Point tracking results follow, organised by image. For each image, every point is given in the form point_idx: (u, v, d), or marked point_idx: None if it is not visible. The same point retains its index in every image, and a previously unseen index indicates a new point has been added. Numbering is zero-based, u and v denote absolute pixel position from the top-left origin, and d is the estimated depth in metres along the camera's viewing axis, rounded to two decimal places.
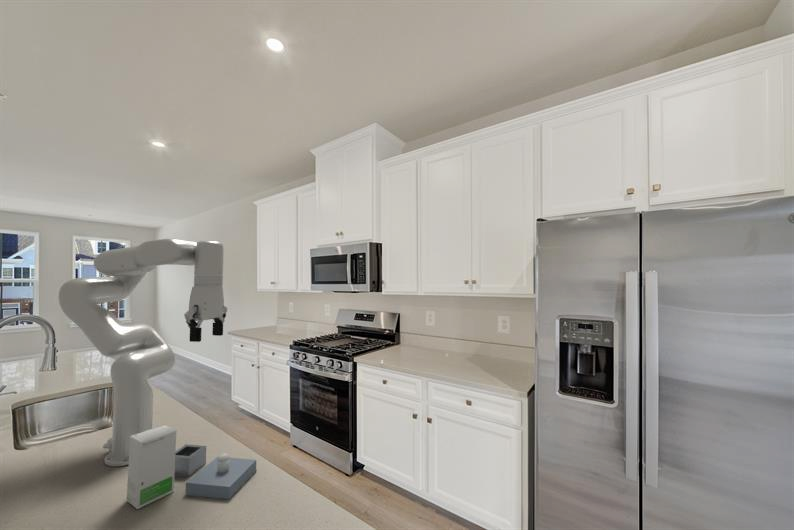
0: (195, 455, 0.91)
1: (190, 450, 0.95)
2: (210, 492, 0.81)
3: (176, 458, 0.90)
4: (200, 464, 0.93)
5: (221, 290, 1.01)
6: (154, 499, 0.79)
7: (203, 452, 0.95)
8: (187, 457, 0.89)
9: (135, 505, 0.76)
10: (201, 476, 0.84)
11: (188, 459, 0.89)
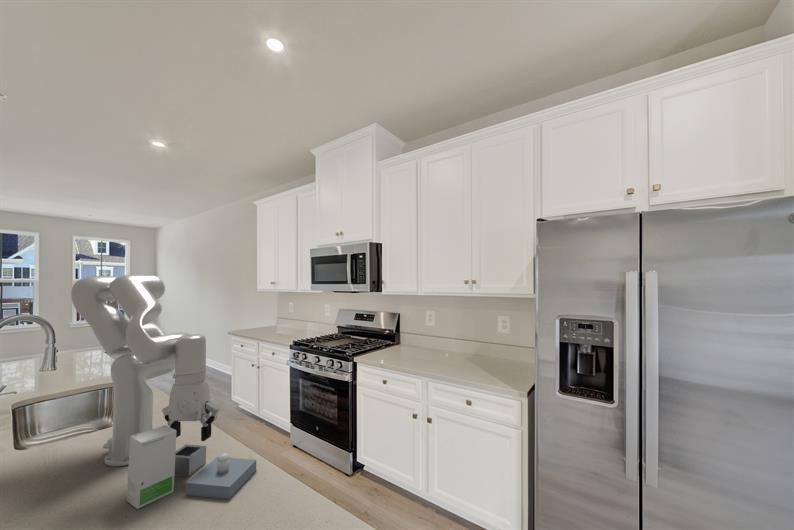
0: (195, 455, 0.91)
1: (190, 450, 0.95)
2: (210, 492, 0.81)
3: (176, 458, 0.90)
4: (200, 464, 0.93)
5: None
6: (154, 499, 0.79)
7: (203, 452, 0.95)
8: (187, 457, 0.89)
9: (135, 505, 0.76)
10: (201, 476, 0.84)
11: (188, 459, 0.89)
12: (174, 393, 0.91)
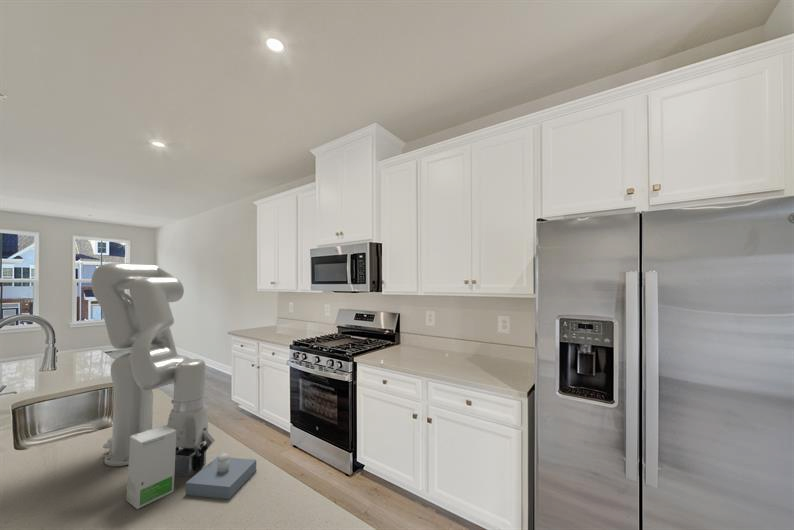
0: (195, 455, 0.91)
1: (190, 450, 0.95)
2: (210, 492, 0.81)
3: (176, 458, 0.90)
4: None
5: None
6: (154, 499, 0.79)
7: None
8: (187, 457, 0.89)
9: (135, 505, 0.76)
10: (201, 476, 0.84)
11: (188, 459, 0.89)
12: (172, 419, 0.91)
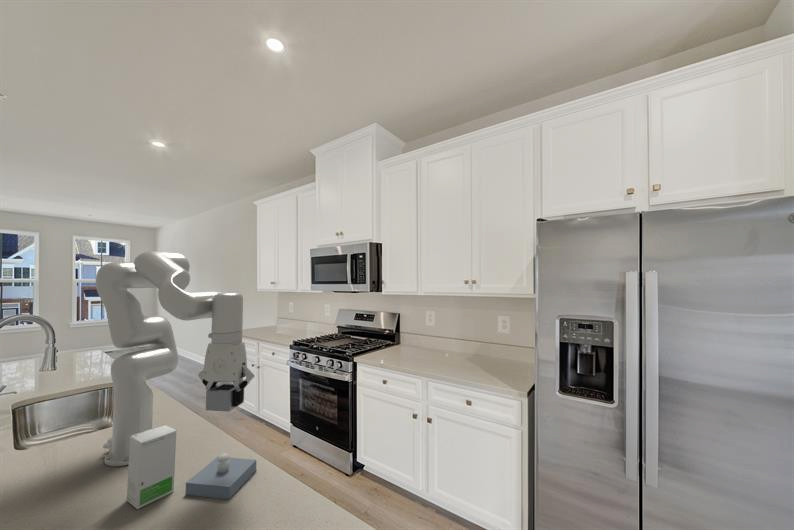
0: (234, 390, 0.86)
1: (227, 388, 0.90)
2: (210, 492, 0.81)
3: (215, 392, 0.85)
4: None
5: None
6: (154, 499, 0.79)
7: None
8: (226, 391, 0.84)
9: (135, 505, 0.76)
10: (201, 476, 0.84)
11: (228, 393, 0.84)
12: (210, 352, 0.86)
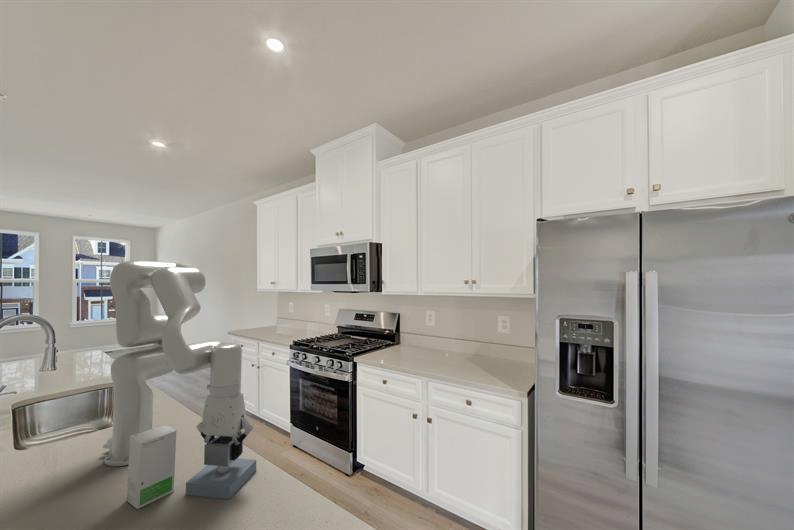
0: (233, 444, 0.86)
1: (226, 439, 0.90)
2: (210, 492, 0.81)
3: (214, 447, 0.84)
4: None
5: None
6: (154, 499, 0.79)
7: None
8: (225, 446, 0.84)
9: (135, 505, 0.76)
10: (201, 476, 0.84)
11: (227, 448, 0.84)
12: (208, 406, 0.85)
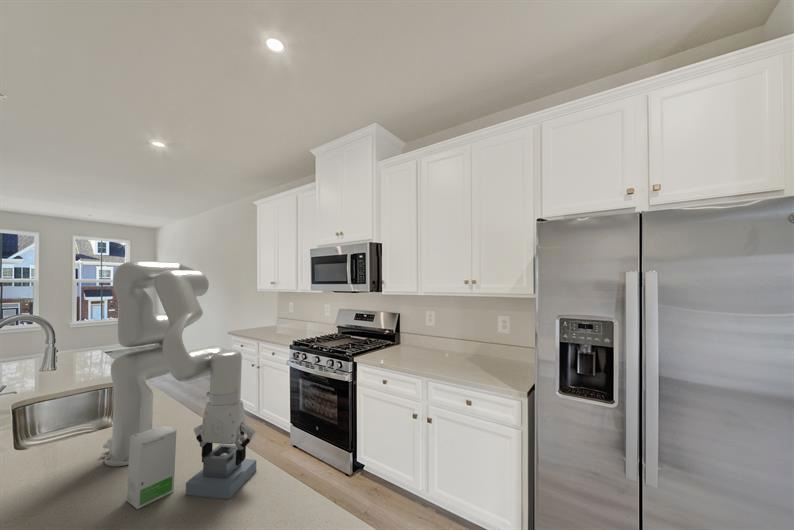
0: (232, 456, 0.86)
1: (225, 450, 0.90)
2: (210, 492, 0.81)
3: (212, 459, 0.84)
4: (236, 465, 0.88)
5: None
6: (154, 499, 0.79)
7: None
8: (224, 458, 0.84)
9: (135, 505, 0.76)
10: (201, 476, 0.84)
11: (225, 460, 0.84)
12: (208, 413, 0.85)
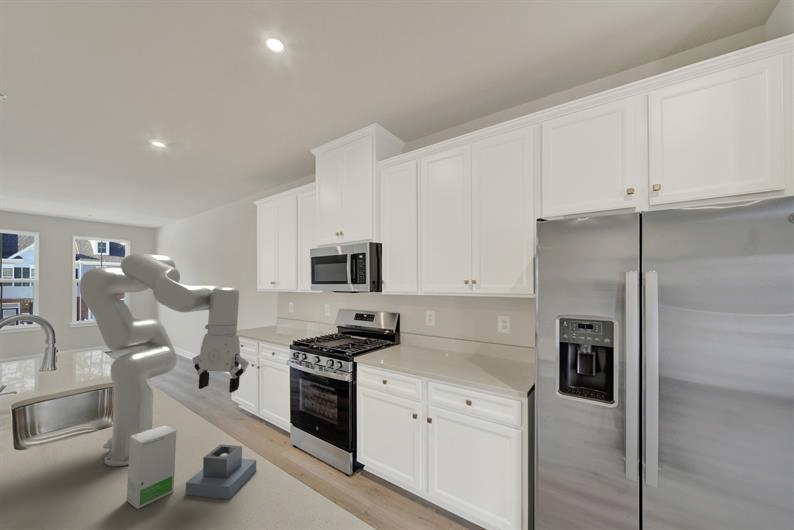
0: (232, 456, 0.86)
1: (225, 450, 0.90)
2: (210, 492, 0.81)
3: (212, 459, 0.84)
4: (236, 465, 0.88)
5: None
6: (154, 499, 0.79)
7: (239, 452, 0.89)
8: (224, 458, 0.84)
9: (135, 505, 0.76)
10: (201, 476, 0.84)
11: (225, 460, 0.84)
12: (206, 343, 0.91)
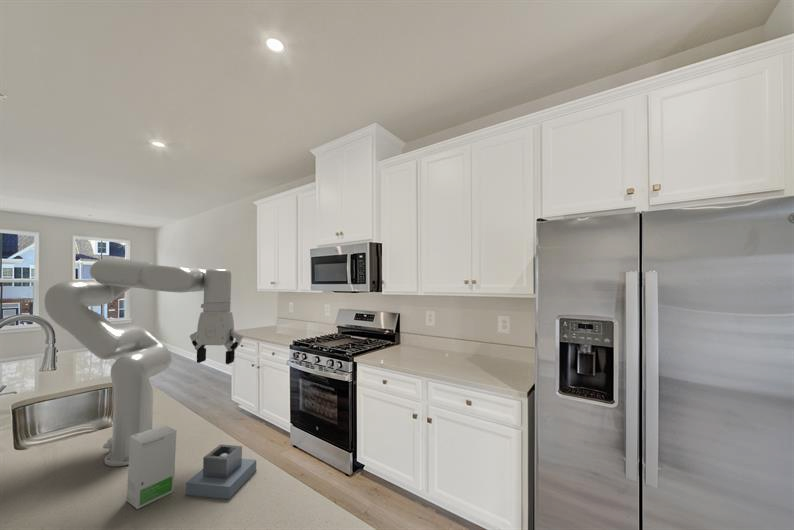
0: (232, 456, 0.86)
1: (225, 450, 0.90)
2: (210, 492, 0.81)
3: (212, 459, 0.84)
4: (236, 465, 0.88)
5: None
6: (154, 499, 0.79)
7: (239, 452, 0.89)
8: (224, 458, 0.84)
9: (135, 505, 0.76)
10: (201, 476, 0.84)
11: (225, 460, 0.84)
12: (202, 319, 1.00)
